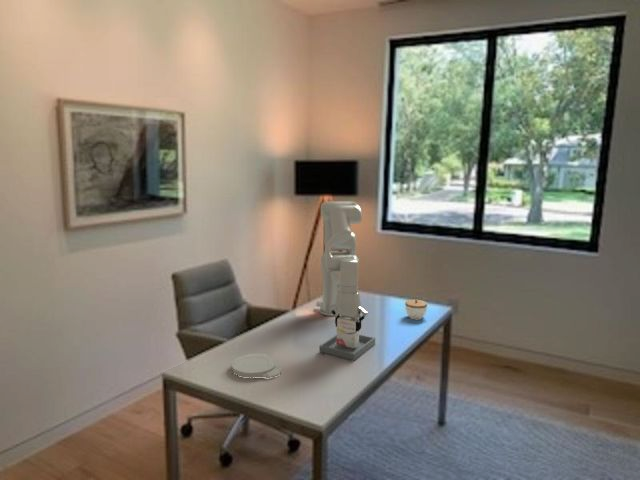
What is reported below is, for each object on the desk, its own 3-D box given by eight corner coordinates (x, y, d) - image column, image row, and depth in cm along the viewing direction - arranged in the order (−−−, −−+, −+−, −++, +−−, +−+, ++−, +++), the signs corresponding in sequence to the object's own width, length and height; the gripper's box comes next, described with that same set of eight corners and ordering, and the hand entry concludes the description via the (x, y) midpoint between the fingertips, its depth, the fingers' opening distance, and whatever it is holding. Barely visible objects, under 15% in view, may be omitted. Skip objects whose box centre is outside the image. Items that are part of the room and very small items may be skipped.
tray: (319, 352, 200) (319, 345, 199) (342, 337, 217) (342, 330, 216) (353, 361, 192) (354, 354, 191) (375, 344, 209) (375, 337, 208)
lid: (263, 386, 172) (263, 378, 171) (221, 373, 182) (221, 365, 181) (291, 368, 186) (291, 361, 185) (251, 356, 196) (251, 349, 196)
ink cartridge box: (336, 345, 204) (336, 311, 201) (340, 340, 208) (340, 308, 205) (355, 348, 200) (355, 314, 197) (359, 344, 205) (359, 311, 202)
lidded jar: (429, 316, 244) (430, 298, 242) (421, 322, 235) (422, 304, 233) (409, 312, 250) (410, 295, 248) (401, 318, 241) (402, 300, 239)
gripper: (325, 287, 201) (325, 326, 204) (363, 294, 192) (362, 335, 195) (334, 283, 207) (334, 321, 210) (371, 289, 198) (370, 329, 201)
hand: (348, 328), depth 203 cm, fingers closed on ink cartridge box, 9 cm apart
